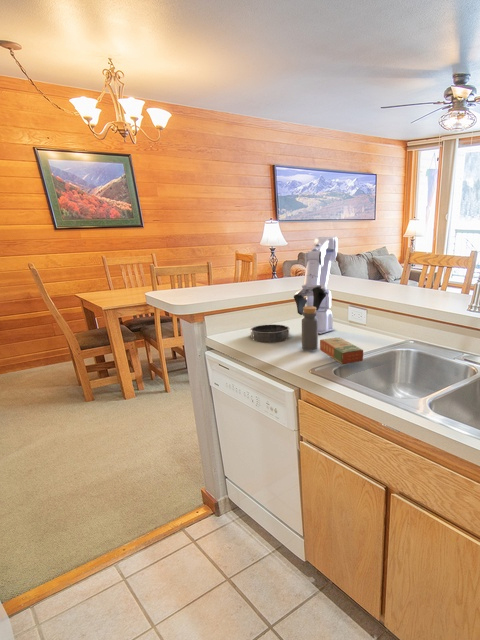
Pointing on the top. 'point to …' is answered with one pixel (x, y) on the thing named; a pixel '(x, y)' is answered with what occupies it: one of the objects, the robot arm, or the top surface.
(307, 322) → the bottle
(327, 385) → the top surface
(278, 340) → the pan
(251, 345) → the top surface
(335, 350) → the carton
